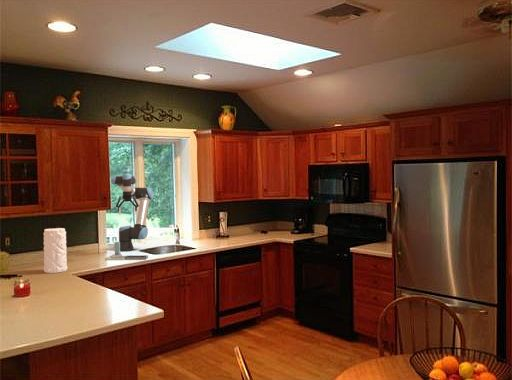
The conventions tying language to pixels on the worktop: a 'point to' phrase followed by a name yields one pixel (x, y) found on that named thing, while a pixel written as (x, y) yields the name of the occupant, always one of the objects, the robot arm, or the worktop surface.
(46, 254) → the paper towel roll
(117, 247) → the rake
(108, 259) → the tray
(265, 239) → the worktop surface
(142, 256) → the slot channel
